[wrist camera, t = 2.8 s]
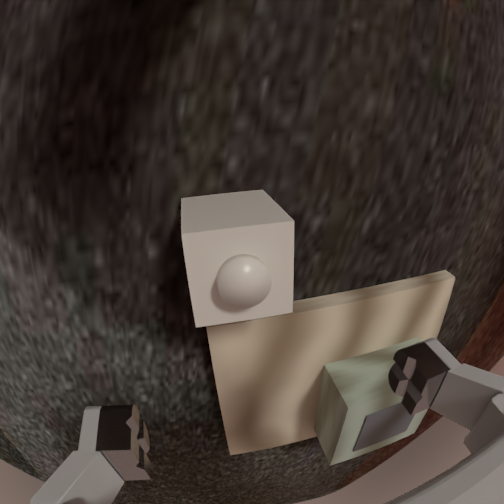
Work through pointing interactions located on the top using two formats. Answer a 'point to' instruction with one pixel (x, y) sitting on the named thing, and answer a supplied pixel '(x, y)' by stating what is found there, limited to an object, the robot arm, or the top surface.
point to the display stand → (325, 368)
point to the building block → (237, 256)
